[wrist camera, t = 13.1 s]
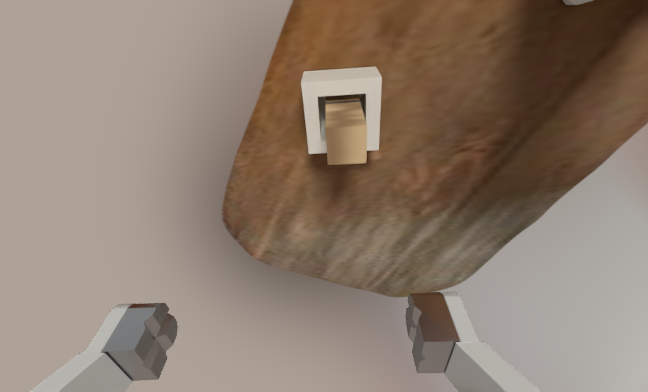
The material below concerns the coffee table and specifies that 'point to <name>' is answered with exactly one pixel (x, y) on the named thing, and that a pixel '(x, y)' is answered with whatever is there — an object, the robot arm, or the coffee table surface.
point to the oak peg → (345, 130)
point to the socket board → (340, 83)
